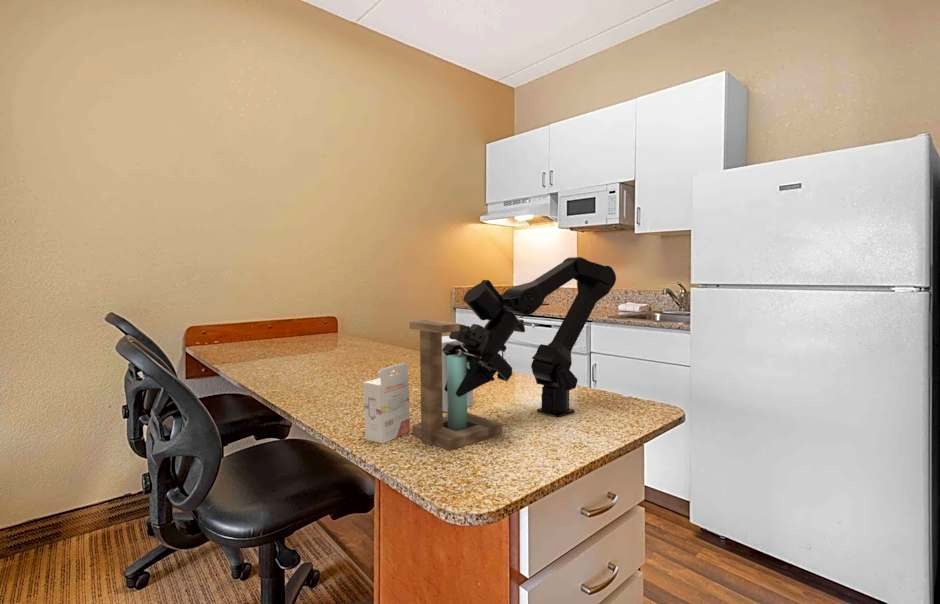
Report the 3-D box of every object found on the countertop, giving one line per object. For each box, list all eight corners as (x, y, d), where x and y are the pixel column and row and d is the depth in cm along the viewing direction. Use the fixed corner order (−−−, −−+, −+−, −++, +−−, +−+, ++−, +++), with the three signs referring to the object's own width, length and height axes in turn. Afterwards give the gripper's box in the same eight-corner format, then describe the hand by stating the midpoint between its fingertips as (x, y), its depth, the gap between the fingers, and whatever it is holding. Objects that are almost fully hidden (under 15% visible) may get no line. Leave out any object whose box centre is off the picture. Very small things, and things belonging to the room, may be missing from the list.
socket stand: (464, 420, 107) (463, 316, 105) (502, 433, 98) (502, 320, 96) (408, 435, 97) (406, 321, 95) (445, 452, 88) (444, 325, 86)
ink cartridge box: (392, 427, 102) (391, 359, 101) (410, 431, 99) (409, 362, 98) (363, 440, 95) (362, 366, 94) (382, 444, 92) (381, 369, 91)
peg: (465, 425, 100) (464, 354, 99) (468, 431, 96) (468, 357, 95) (446, 426, 99) (445, 355, 98) (449, 432, 95) (448, 358, 94)
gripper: (449, 306, 106) (405, 361, 101) (500, 312, 91) (451, 377, 85) (478, 339, 111) (438, 392, 106) (531, 349, 95) (487, 413, 90)
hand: (451, 393), depth 96 cm, fingers closed on peg, 4 cm apart
